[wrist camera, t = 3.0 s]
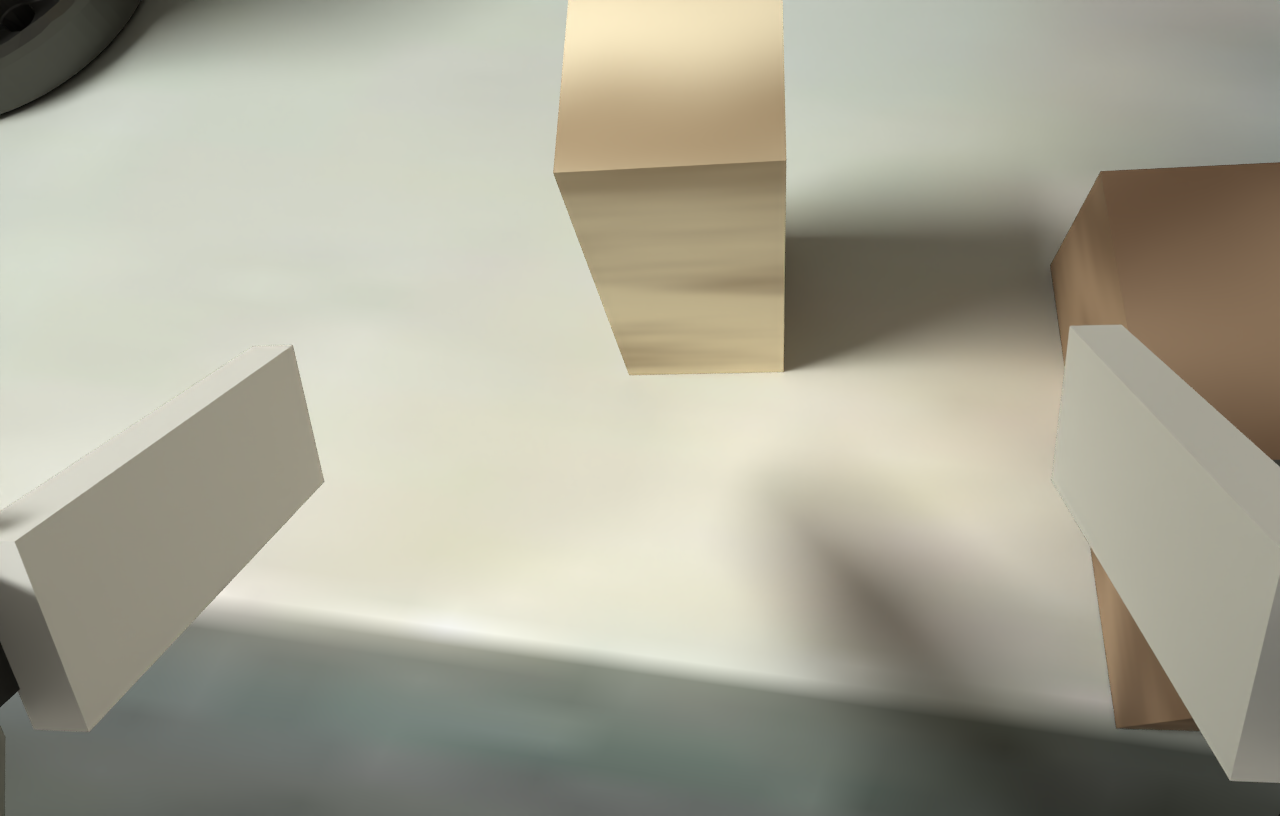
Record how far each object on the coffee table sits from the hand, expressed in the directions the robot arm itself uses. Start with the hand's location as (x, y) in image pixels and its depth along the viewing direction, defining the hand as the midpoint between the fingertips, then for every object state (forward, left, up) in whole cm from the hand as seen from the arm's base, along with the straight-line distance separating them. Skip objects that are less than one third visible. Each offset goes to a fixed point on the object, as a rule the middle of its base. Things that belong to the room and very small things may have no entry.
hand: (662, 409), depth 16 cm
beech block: (-9, 0, -13) cm, 15 cm away
